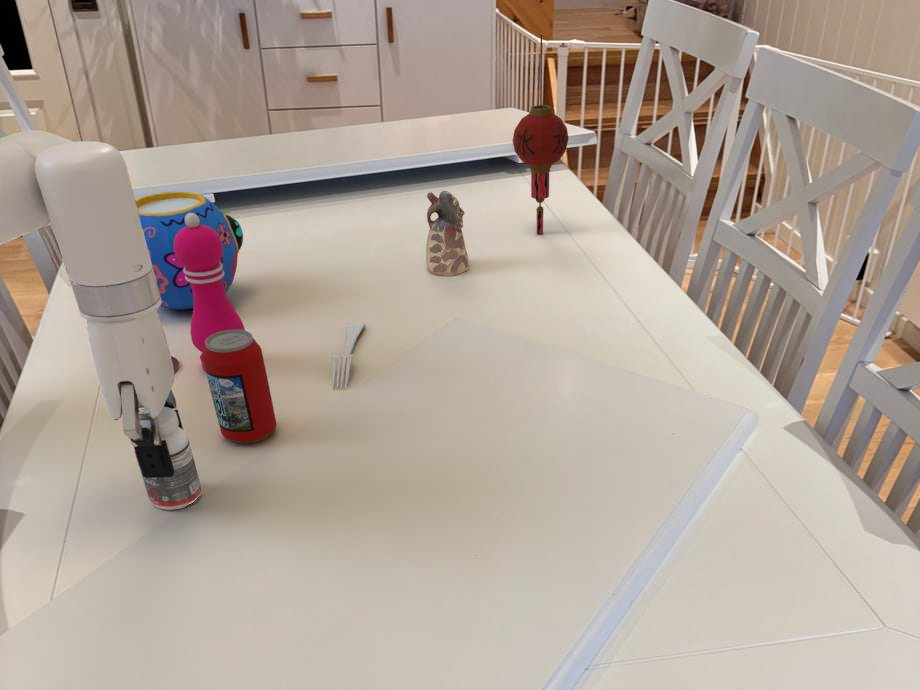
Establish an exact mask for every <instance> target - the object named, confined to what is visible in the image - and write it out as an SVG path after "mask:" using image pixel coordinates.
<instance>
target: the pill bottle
mask: <svg viewBox="0 0 920 690" xmlns="http://www.w3.org/2000/svg"><path fill="white" fill-rule="evenodd" d="M174 410H175V409H171V408H168V407H163V409H162V411H161V413H160V414H159V415H158V421H159V426H160V432H161V438H162V440H166V443H167V447H168V450H169V454H170V457H171V461H172V464H173V468H174V475H173V476H172V477H157V478H145V477H144V476H143V475H142V471H141V468H140V465H139V462H138V459H137V455H136V452H135V449H134V447H133V446H132V448H133V451H134V455H135V458H136V462H137V464H138V467H139V471H140V474H141V477H142V480H143V484H144V488H145V490H146V494H147V497H148V500H149V502H150V503H151V504H152V505H153V507H156V508H158V509H161V510H166V511H167V510H169V511H170V510H171V511H172V510H180V509H183V508H186V506H187V505H188V504H189V503H191V502H192V501H194V500H195V499H196V498H198V497H199V496H200V497H201V495H202V484H201V481H200V477H199V474H198V470H197V466H196V463H195V458H194V454H193V451H192V447H191V443H190V440H189V439H190V438H189V436H188V435H187V433H186V431H185V430H184V429H183V430H182V429H181V428H179V427H178V425H179V421H178V417H177V414H176V412H175V411H174ZM139 413H149V410H148V409H145V408H141V409H139ZM140 424H141V425H142V427H143V428H145V427H146V428H148V429H149V430H150V431H151V425H150V420H143V421H140ZM151 432H152V431H151ZM200 497H199V498H200ZM199 498H198V499H199ZM187 507H188V506H187Z"/></svg>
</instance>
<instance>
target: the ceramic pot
mask: <svg viewBox="0 0 920 690" xmlns="http://www.w3.org/2000/svg"><path fill="white" fill-rule="evenodd" d="M135 201H136V205H137V209H138V213H139V217H140V221H141V225H142V228H143V232H144V236H145V240H146V244H147V248H148V251H149V255H150V259H151V263H152V267H153V270H154V274H155V278H156V282H157V286H158V289H159V293H160V297H161V301H162V303H161V305H160V307H163V308H167V309H170V310H192V309H194V299H193V293H192V288H191V285H190V282H188V281H187V280H186V279H185V273H184V271H183V269H184V267H185V265H183V264H182V263H181V262H180V261H179V260H178V259H177V257H176V255H175V251H174V239H175V236H176V234H177V233H178V232H179V231H180V230H181V229H183V228H184V227H186V226H187V225H186V223H185V216H186V215H187V214H188V213H194V214H196V215H197V216H198V217H199V221H200V222H199V225H204V226H208V227H210V228H211V229H213V230H214V231H215V232H216V233H217V234H218V236H219V237H220V240H221V242H222V246H223V254H222V256H221V258H220V260H219V262H220V263H222V265H223V268H222V269H223V271H224V276H223V277H222V281H223V287H224V290H225V293H226V294H227V292H228V291H229V289H230V288H231V286H232V284H233V282H234V279H235V277H236V272H237V267H238V256H239V252H240V250H241V248H242V246H243V242H244V234H243V233H244V232H243V229H242V227H241V224H240V223H239V221H238V220H237V219H235V218H234V217H233V216H231V215H228V214H226V213H224V212H223V211H222V210H221V209H220V208H219V207H218V205H216V204H215V203H214V202H212V201H211V200H210V199H208V198H207V197H205V196H204V195H202V194H199V193H196V192H192V191H191V192H190V191H167V192H161V193H155V194H154V193H153V194H149V195H147V196H143V197H139V198H137V199H135Z"/></svg>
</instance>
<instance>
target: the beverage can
mask: <svg viewBox="0 0 920 690" xmlns="http://www.w3.org/2000/svg"><path fill="white" fill-rule="evenodd" d="M205 344H206V345H205V349H204V352H203V356H202V358H203V362H204V366H205V371H206V372H205V371H204V372H205V375H206V380H207V383H208V387H209V391H210V394H211V398H212V403H213V407H214V412H215V414H216V419H217V422H218V426H219V429H220V430H219V431H220V434H221V435H222V437H224V438H225V439H227V440H229V441H232V442H235V443H237V444H253V443H257V442H260V441H262V440H265V439H266V438H268V436H270V435H271V434H272V433H273V432H274V431H275V429H276V428H277V420H276V414H275V410H274V404H273V399H272V393H271V389H270V383H269V379H268V375H267V374H268V373H267V369H266V365H265V360H264V355H263V350H262V347H261V345H260V344H259V343H258V341H256V339H255V338H254V336H253V334H252V333H251V332H249V331H247V330H245V331H244V330H225V331H221V332H217V333H215V334H212V335H211V336H209V337H208V338H207V339H206V341H205Z"/></svg>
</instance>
